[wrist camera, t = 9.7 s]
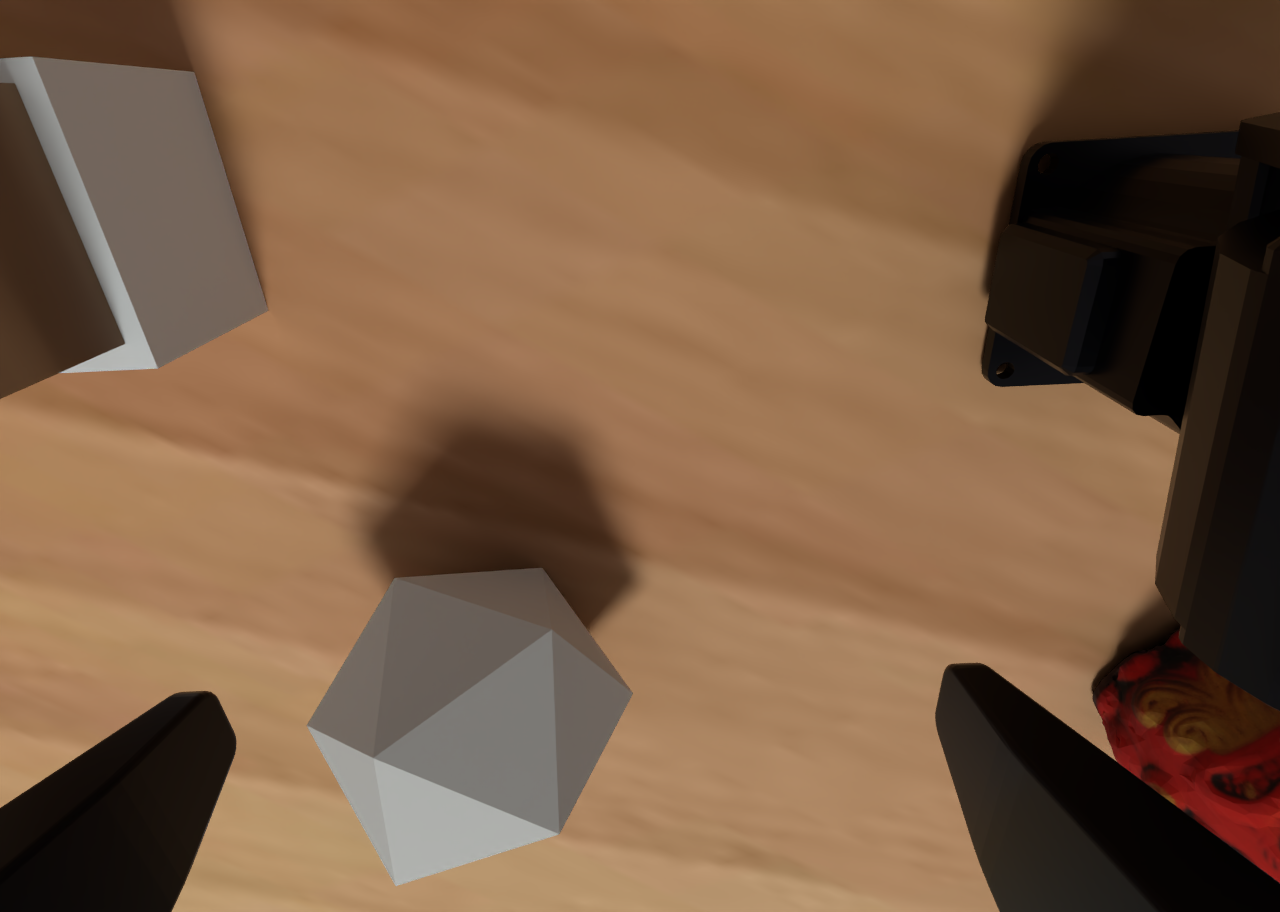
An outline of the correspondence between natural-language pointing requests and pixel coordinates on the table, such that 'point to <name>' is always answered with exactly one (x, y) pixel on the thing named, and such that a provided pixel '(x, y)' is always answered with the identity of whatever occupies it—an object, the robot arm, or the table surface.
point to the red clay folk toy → (1198, 745)
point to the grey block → (144, 202)
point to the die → (467, 718)
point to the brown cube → (42, 265)
